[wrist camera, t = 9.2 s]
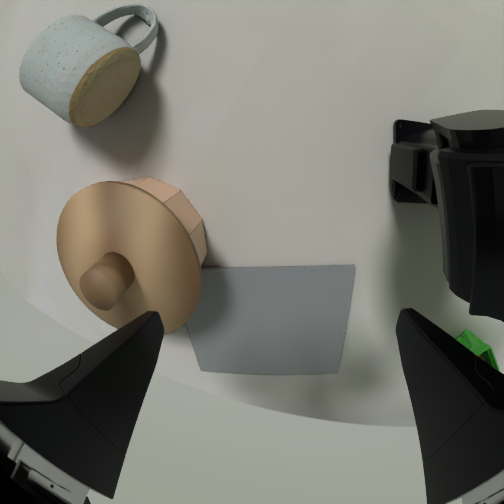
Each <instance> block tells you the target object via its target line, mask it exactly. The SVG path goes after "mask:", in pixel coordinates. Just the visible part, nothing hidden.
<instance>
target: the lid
mask: <svg viewBox="0 0 504 504" xmlns="http://www.w3.org/2000/svg"><path fill="white" fill-rule="evenodd" d="M57 250H58V256H59V260H60V263H61V266H62V269H63V272H64V274H65V276H66V278H67V280H68V282H69V284H70V286H71V287H72V289H73V291H74V292H75V294H76V295H77V296H78V297H79V299H80V300H81V301H82V302H83V303H84V304H85V306H86V307H87V308H88V309H89V310H91V311H92V312H93V313H94V314H95V315H96V316H98V317H99V318H100V319H102V320H103V321H105V322H106V323H108V324H109V325H111V326H113V327H115V328H117V329H120V328H121V327H123V326H124V325H126V324H128V323H129V322H131V321H132V320H134V319H135V318H137V317H139V316H140V315H142V314H143V313H145V312H146V311H157V312H159V314H160V317H161V320H162V323H163V326H164V335H165V334H168V333H171V332H173V331H175V330H177V329H179V328H180V327H181V326H183V325H184V324H185V323H186V322H187V321H188V320H189V318H190V317H191V316H192V314H193V312H194V310H195V308H196V306H197V304H198V301H199V298H200V294H201V289H202V273H201V265H200V261H199V257H198V254H197V251H196V249H195V246H194V243H193V241H192V240H191V238H190V236H189V234H188V232H187V230H186V229H185V227H184V226H183V225H182V223H181V222H180V220H179V219H178V218H177V217H176V216H175V214H174V213H173V212H172V211H171V210H170V209H169V208H168V207H167V206H166V205H165V204H164V203H163V202H161V201H160V200H159V199H157V198H156V197H155V196H153V195H152V194H150V193H148V192H147V191H145V190H143V189H141V188H139V187H136V186H134V185H131V184H127V183H123V182H116V181H106V182H99V183H96V184H92V185H90V186H88V187H86V188H84V189H82V190H80V191H78V192H77V193H76V194H75V195H73V196H72V197H71V199H70V200H69V201H68V202H67V204H66V205H65V207H64V208H63V210H62V213H61V215H60V218H59V222H58V227H57Z"/></svg>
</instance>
